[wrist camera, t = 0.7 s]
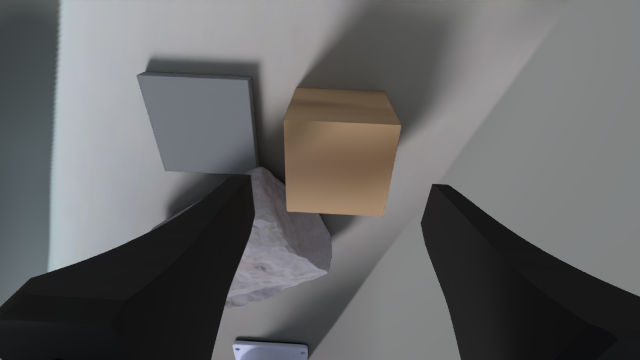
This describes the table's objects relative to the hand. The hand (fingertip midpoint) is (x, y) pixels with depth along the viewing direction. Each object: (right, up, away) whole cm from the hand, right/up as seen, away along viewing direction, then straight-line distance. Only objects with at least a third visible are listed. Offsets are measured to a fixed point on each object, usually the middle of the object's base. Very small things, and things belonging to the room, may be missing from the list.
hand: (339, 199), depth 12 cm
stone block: (-6, -3, +11) cm, 13 cm away
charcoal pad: (-8, +4, +6) cm, 11 cm away
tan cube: (0, +4, +6) cm, 7 cm away
